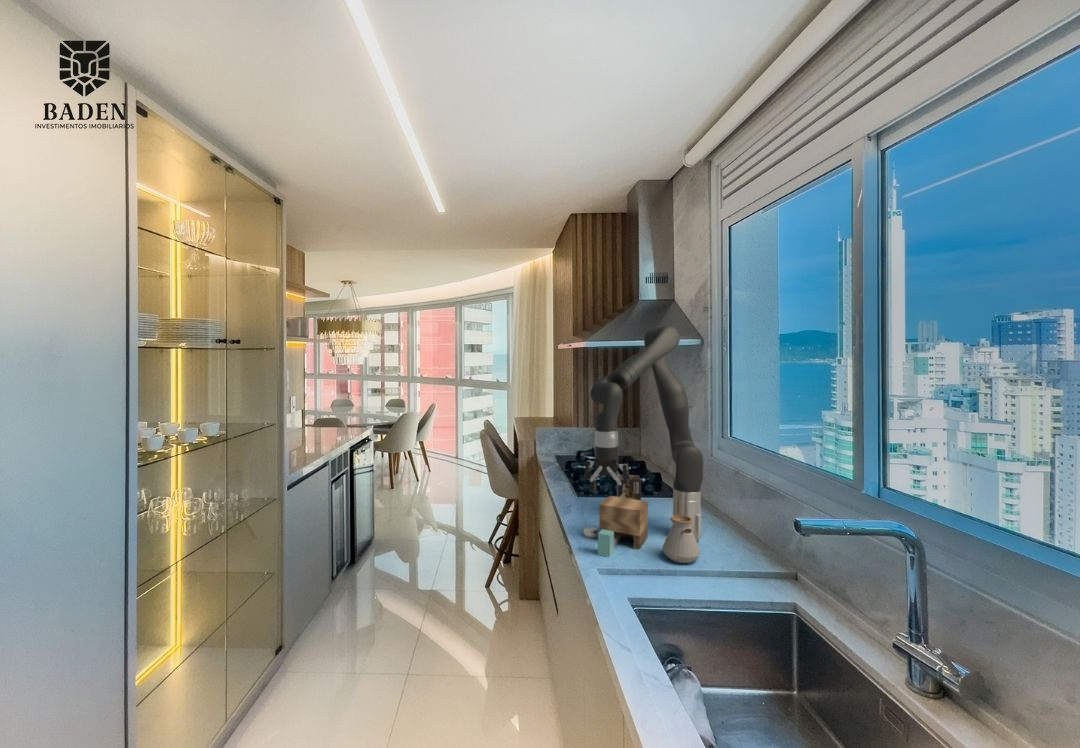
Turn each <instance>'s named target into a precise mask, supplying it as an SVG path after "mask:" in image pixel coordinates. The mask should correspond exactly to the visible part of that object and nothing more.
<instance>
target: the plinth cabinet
mask: <svg viewBox="0 0 1080 748" xmlns="http://www.w3.org/2000/svg"><path fill="white" fill-rule="evenodd" d="M648 516H649V501H647V500H642V499H641V500H634V499H628V498H621V497H617V496H612V495H609V496H608V497H607V498H605V499H604V500H603V501H602V502H601V503H600V504H599V518H598V519H599V522H598V523H599V525H598V526H599V530H602V529H604V530H609V531H614V535H615V534H616V533H617V532H619V533H621V538H627V539H633V549H634V550H638V549H641V548H642V547H643V545H644V544H645V543H646V541H647V539H648V535H649V534H648V533H649V529H648V528H649V526H648V524H649V523H648V521H649V518H648Z"/></svg>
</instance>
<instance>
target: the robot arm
mask: <svg viewBox="0 0 1080 748" xmlns="http://www.w3.org/2000/svg"><path fill="white" fill-rule="evenodd" d="M643 339H644V340H643V341H644V348H643V349H641V350H640V351H638V352H637V353H635V354H633V355H632V356H630V357H629V358H627V359H626V360H624V361H623V362H622V363H621V364H619V366H618V367H616V369H615V370H614V371H612V372H610V373H608V374H607V375H605V376H604V377H602V378H600V379H598V380H597V381H596V382H595V383H594V384H593V385H592V387H591V390H590V398H591V400H592V401H593V402H594V403H596V404H602V405H603V408H602V411H599V412H597V413H595V419H594V420H595V424H594V426H595V431H594V432H595V433H594V441H593V443H594V460H593V461H592V460H591V459H588V460H586V461H585V462H584V463H585V464H584V479H585V480H588V481H589V483H590V488H589V489H590V492H591V493H592V494H596V493H597V480H596V479H597V478H598V477H599V476H601V477H604V476H605V477H612V479H613V480H615V482H616V484H617V483H618V497H620V496H621V495H622V494H623V484H627V483H628V482H629V475H630V469H629V463H620V462H619V433H618V417H619V413H620V409H621V406H622V401H623V391H622V390H624V389H627V388H630V386H632V384H633V383H634V382H635V381H636V380H638V379H639V377H640V376H642V374H644V373H645V372H646V371H647V370H648V369H649V368H651V369H652V371H653V376H654V380H655V384H656V388H657V393H658V397H659V399H658V400H659V403H660V406H661V410H662V413H663V417H664V421H665V423H666V426H667V431H668V435H669V441H670V451H671V458H672V460H673V462H674V463H675V478H674V479H673V486H672V487H673V488H672V490H673V491H672V492H673V493H672V497H673V498H672V516H675V515H683V516H688V517H690V518H692V522H691V524H690V527H691V529H692V532H693V534H694V533H695V534H694V537H695V539H696V542H697V543H699V542H700V540H701V538H702V510H701V502H702V500H701V499H702V498H701V497H702V496H701V493H702V492H701V491H702V490H701V489H702V484H703V480H704V456H703V455H704V454H703V453H702V451H701V449H699V448H698V447H697V446H696V445H695V443H694V441H693V438H692V434H691V430H690V425H689V421H690V418H689V417H690V416H689V415H690V414H689V412H690V408H689V407H690V406H689V400H688V397H687V392H686V388H685V386H684V384H683V383H682V381H681V380H680V378H679V377H678V375H676V373H675V372H674V371H673V369H672V368H671V366H670V364H669V361H668V357H667V355H668V354H670V353H671V352H673V351H674V350H676V349H677V348H678V346H679V343H680V333H679V331H678V330H677V328H675V327H674V326H671V325H663V326H659V327H655V328H651V329H648V330H647V331H646V332H645V334H644V337H643ZM593 467H594V468H595V471H594V473H593V474H592V473H591V472H592V468H593ZM619 469H620V470H621V471H622V475H623V479H622V478H621V476H620V475H621V474H620V473H619V471H618V470H619ZM591 474H592V475H591Z"/></svg>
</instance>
